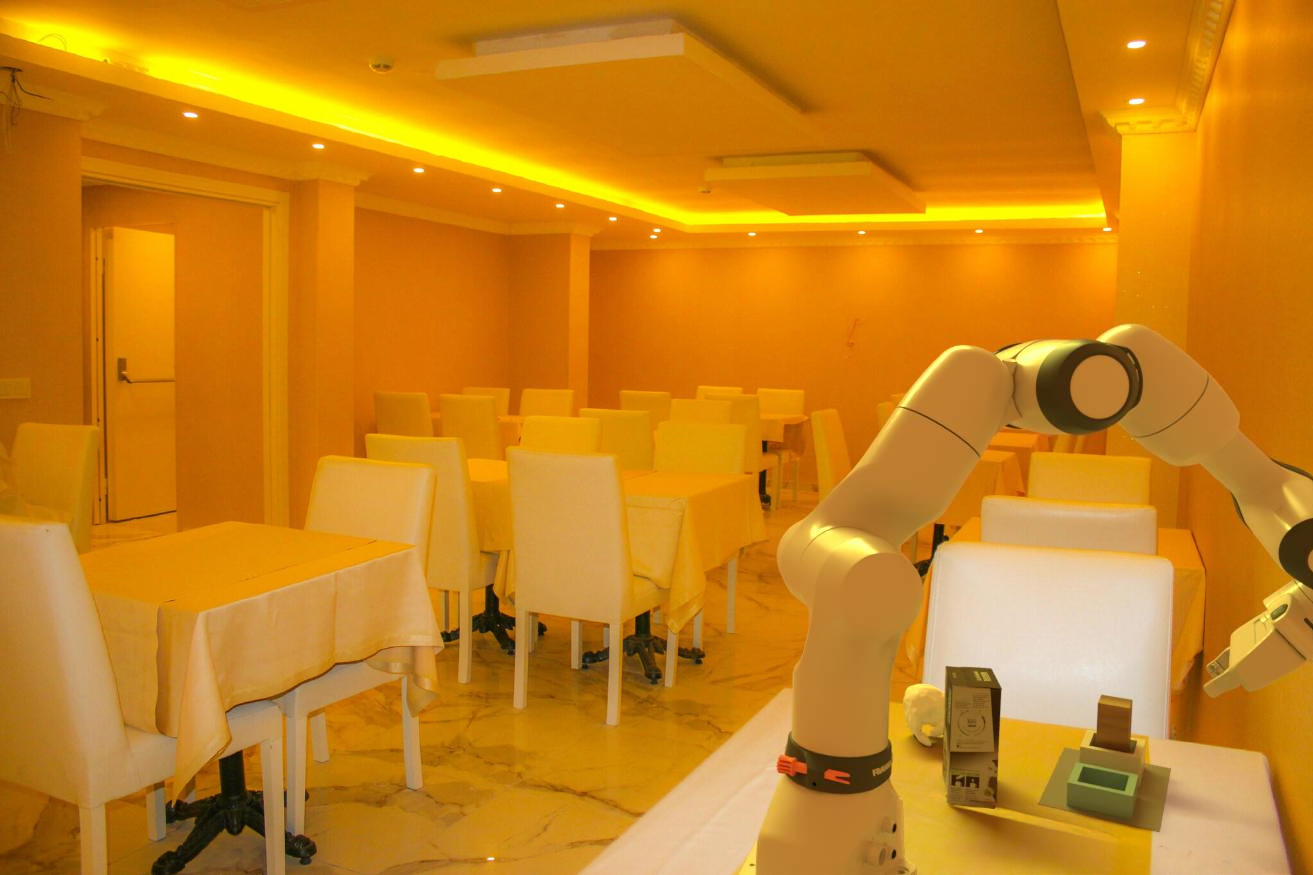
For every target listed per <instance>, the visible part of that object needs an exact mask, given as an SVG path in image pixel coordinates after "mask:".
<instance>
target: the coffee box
mask: <svg viewBox="0 0 1313 875" xmlns="http://www.w3.org/2000/svg"><path fill="white" fill-rule="evenodd" d="M944 669H945V671H944V672H945V673H944V674H945V676H944V693H945V697H944V732H943V735H942V736H943V739H942V741H943V742H942V747H943V748H942V770H941V771H942V772H941V773H942V776H943V781H944V786H945V792H946V794H945V795H946V800H947V801H946V802H947V804H949V805H958V806H966V807H973V808H975V807H977V808H982V809H983V808H984V809H991V810H992V809H996V808H997V806H996V805H991V804H987V803H984V802H989V803H996V802H997V797H998V796H997V795H998V794H997V793H998V775H999V773H998V771H999V753H1000V752H999V749H1000V748H999V747H1000V728H1001V710H1002V709H1001V708H1002V707H1001V706H1002V705H1001V704H1002V690H1003V688H1002V686H1001V685H1000V682H999V681H998V678H997V677H996V675H995V672H994V671H993V669H992V668H991V667H989V668H988V667H980V666H979V667H977V666H974V667H973V666H948V665H946V666H945V668H944Z"/></svg>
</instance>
